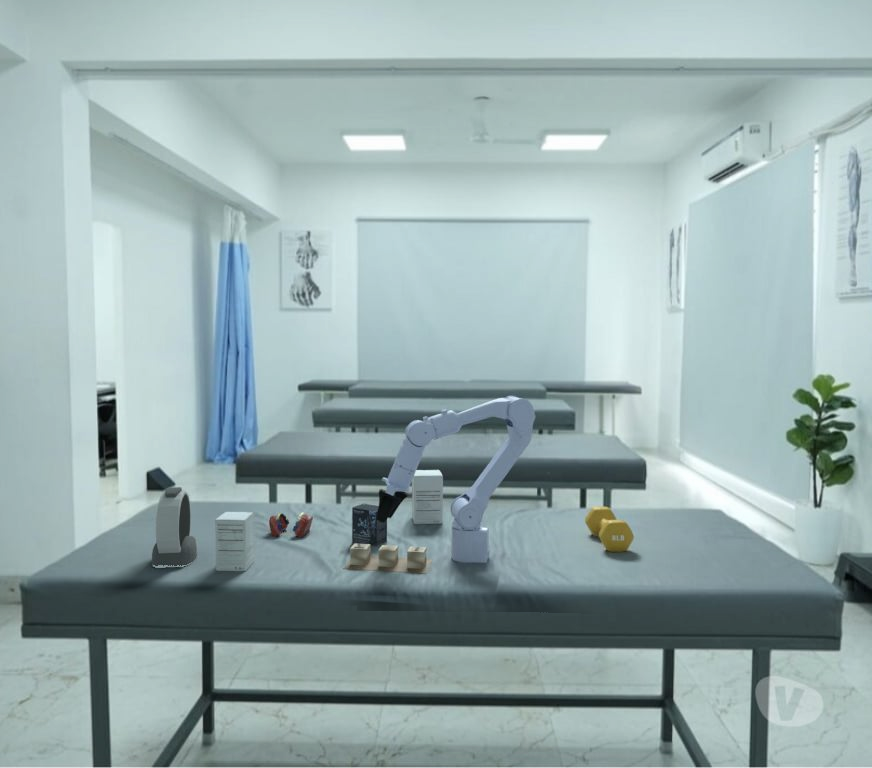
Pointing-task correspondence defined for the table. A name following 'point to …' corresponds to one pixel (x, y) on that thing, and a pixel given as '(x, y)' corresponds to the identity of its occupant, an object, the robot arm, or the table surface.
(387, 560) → the plain block
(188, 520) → the alarm clock
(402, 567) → the walnut board
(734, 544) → the table surface
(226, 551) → the supplement box
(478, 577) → the table surface
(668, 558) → the table surface
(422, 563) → the block one
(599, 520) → the dumbbell
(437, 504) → the supplement box
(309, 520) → the teeth model
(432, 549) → the table surface
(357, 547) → the letter t cube
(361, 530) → the box
